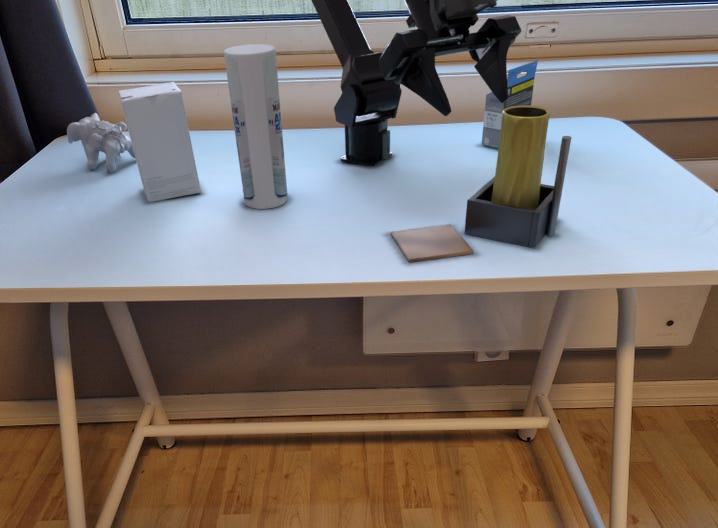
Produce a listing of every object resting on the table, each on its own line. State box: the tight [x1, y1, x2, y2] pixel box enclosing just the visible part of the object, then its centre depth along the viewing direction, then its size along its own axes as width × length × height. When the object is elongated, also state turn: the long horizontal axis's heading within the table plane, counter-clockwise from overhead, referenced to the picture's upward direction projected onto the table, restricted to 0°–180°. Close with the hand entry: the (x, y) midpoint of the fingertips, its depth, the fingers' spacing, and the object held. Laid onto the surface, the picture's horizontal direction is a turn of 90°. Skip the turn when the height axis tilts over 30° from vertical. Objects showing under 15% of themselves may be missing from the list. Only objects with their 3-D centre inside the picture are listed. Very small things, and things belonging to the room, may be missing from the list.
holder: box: [464, 135, 572, 249], centre depth 77 cm, size 10×9×12 cm
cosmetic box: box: [118, 81, 202, 203], centre depth 91 cm, size 8×6×15 cm
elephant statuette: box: [66, 112, 136, 173], centre depth 105 cm, size 9×12×8 cm
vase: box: [491, 105, 551, 210], centre depth 77 cm, size 6×6×14 cm
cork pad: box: [390, 223, 475, 263], centre depth 78 cm, size 8×8×1 cm
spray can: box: [223, 43, 288, 210], centre depth 86 cm, size 6×6×20 cm
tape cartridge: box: [481, 59, 538, 150], centre depth 105 cm, size 9×4×12 cm, turn 136°
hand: (477, 107), depth 79 cm, fingers open, 9 cm apart
